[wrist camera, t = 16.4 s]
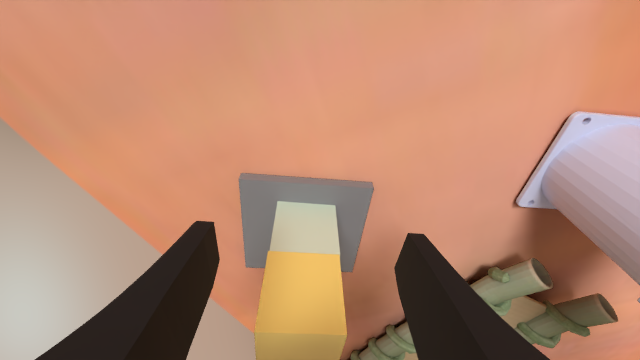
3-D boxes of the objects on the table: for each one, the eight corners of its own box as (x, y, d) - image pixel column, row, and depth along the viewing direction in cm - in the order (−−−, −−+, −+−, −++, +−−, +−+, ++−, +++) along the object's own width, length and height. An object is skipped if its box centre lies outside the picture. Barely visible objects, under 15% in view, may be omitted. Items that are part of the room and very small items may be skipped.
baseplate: (371, 182, 22) (373, 188, 21) (351, 265, 28) (352, 272, 27) (241, 173, 21) (238, 179, 20) (247, 260, 27) (245, 267, 26)
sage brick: (335, 205, 22) (340, 255, 18) (325, 256, 25) (328, 308, 21) (277, 201, 22) (269, 251, 18) (275, 253, 25) (268, 305, 21)
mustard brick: (339, 254, 18) (347, 335, 14) (328, 307, 21) (331, 384, 17) (268, 250, 18) (254, 332, 13) (268, 305, 21) (257, 383, 17)
